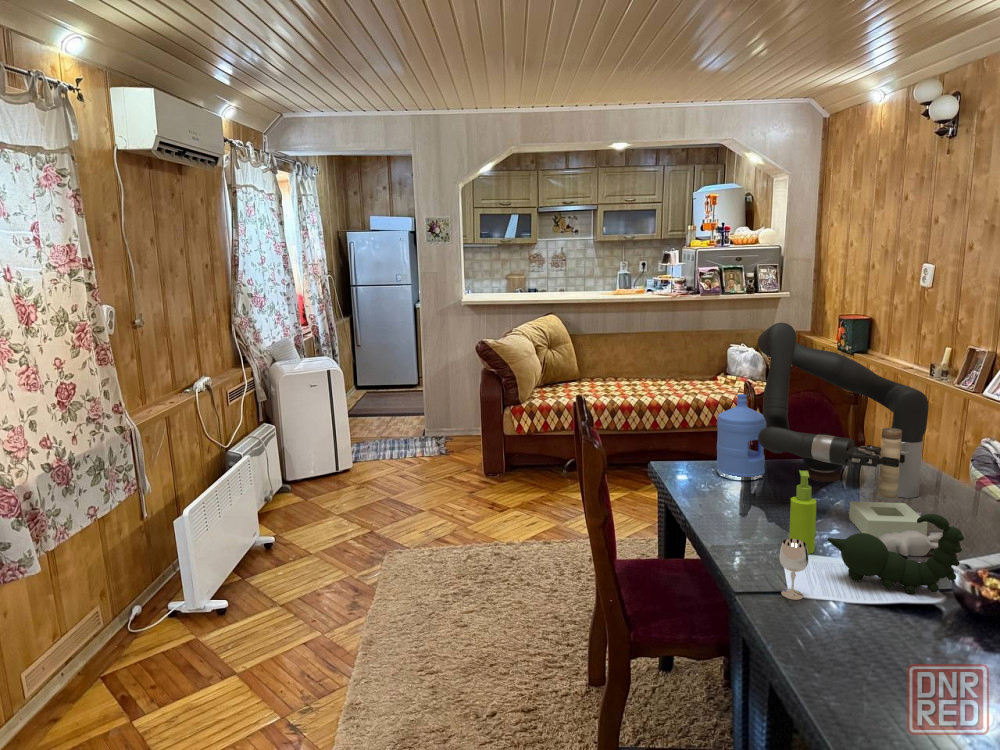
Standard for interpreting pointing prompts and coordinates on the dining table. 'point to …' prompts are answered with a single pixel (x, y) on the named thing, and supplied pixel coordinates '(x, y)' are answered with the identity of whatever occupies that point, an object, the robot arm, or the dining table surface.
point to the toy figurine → (901, 558)
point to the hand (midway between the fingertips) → (901, 461)
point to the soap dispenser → (803, 514)
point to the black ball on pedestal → (822, 469)
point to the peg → (888, 473)
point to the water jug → (740, 440)
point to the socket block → (885, 518)
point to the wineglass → (793, 563)
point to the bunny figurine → (910, 542)
